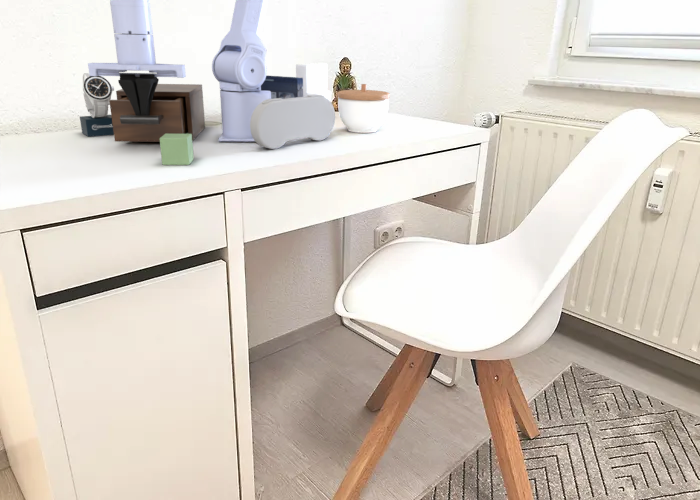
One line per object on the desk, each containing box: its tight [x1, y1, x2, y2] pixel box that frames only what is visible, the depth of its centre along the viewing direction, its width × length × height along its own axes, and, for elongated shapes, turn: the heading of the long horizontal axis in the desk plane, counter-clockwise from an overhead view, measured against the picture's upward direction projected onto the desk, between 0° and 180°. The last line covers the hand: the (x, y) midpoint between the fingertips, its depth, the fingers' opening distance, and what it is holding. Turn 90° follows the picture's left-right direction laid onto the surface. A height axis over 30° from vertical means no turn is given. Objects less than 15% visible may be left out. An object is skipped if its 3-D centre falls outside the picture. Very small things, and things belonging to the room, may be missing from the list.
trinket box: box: [337, 83, 391, 134], centre depth 113 cm, size 11×11×9 cm
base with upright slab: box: [295, 62, 332, 103], centre depth 129 cm, size 9×9×12 cm
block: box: [159, 134, 195, 166], centre depth 83 cm, size 4×4×4 cm
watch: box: [79, 72, 115, 138], centre depth 102 cm, size 6×8×11 cm
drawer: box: [109, 96, 188, 143], centre depth 96 cm, size 18×11×7 cm, turn 5°
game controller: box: [250, 95, 336, 150], centre depth 98 cm, size 20×2×8 cm, turn 140°
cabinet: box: [115, 83, 206, 141], centre depth 105 cm, size 15×13×9 cm
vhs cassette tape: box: [261, 75, 303, 99], centre depth 120 cm, size 18×3×10 cm, turn 64°
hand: (143, 122), depth 90 cm, fingers closed, pressing on drawer
